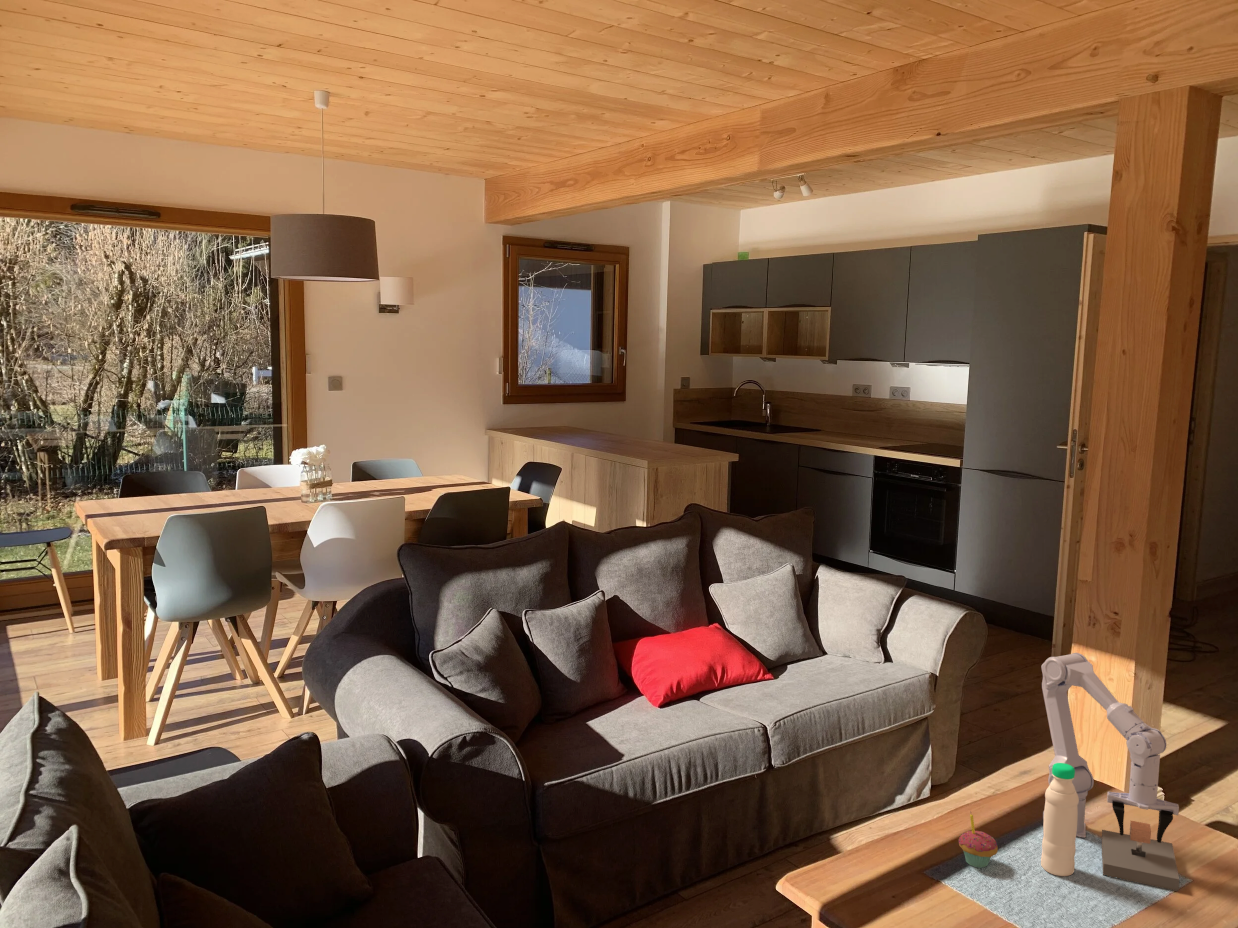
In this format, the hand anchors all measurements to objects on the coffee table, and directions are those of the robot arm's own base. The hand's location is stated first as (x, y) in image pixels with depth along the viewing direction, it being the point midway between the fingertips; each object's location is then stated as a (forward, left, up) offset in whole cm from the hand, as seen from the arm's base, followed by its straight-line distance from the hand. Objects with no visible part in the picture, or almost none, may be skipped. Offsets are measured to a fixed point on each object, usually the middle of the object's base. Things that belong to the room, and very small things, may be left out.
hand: (1139, 836), depth 223 cm
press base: (0, 0, -7) cm, 7 cm away
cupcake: (-34, -16, -7) cm, 38 cm away
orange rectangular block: (0, 0, -4) cm, 4 cm away
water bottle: (-17, -11, -7) cm, 21 cm away
